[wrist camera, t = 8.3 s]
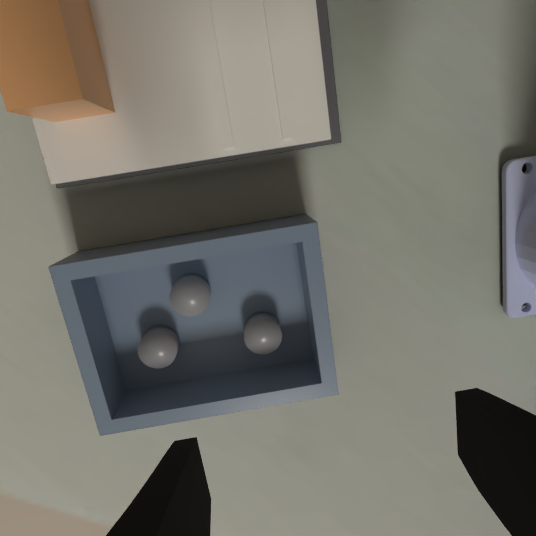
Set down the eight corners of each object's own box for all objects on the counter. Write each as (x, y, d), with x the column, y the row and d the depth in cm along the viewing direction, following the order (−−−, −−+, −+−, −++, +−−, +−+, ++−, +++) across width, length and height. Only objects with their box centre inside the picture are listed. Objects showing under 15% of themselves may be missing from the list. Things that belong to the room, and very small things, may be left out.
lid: (297, -81, 16) (320, -187, 11) (323, 141, 18) (352, 132, 13) (7, -38, 16) (-96, -127, 11) (68, 182, 18) (5, 189, 13)
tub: (305, 214, 19) (317, 222, 16) (325, 363, 21) (338, 394, 18) (78, 251, 19) (48, 267, 16) (119, 398, 21) (99, 435, 18)
